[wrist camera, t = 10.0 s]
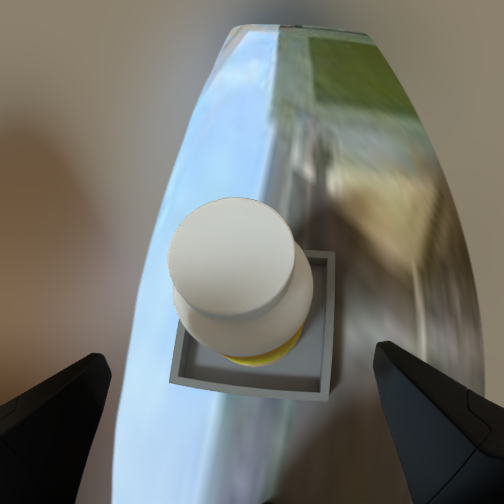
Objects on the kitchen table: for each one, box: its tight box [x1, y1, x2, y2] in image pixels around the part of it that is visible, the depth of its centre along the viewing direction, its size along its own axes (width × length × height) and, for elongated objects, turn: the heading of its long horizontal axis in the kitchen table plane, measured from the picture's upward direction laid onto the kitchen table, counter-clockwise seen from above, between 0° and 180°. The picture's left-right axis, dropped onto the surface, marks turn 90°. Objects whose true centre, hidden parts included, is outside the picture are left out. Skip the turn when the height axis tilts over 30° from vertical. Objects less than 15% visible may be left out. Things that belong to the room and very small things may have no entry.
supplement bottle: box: [168, 197, 313, 367], centre depth 16 cm, size 7×7×13 cm
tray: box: [169, 249, 335, 401], centre depth 22 cm, size 11×11×2 cm
